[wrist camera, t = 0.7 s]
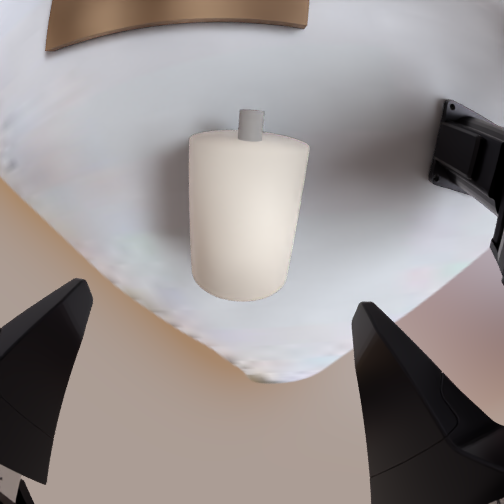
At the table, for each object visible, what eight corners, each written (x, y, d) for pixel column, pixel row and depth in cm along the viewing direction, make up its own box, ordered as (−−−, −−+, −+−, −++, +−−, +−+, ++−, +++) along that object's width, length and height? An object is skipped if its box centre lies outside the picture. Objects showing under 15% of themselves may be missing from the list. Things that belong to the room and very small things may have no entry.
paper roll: (303, 112, 15) (327, 125, 10) (280, 262, 21) (286, 322, 16) (202, 104, 15) (174, 113, 10) (200, 256, 21) (185, 314, 16)
